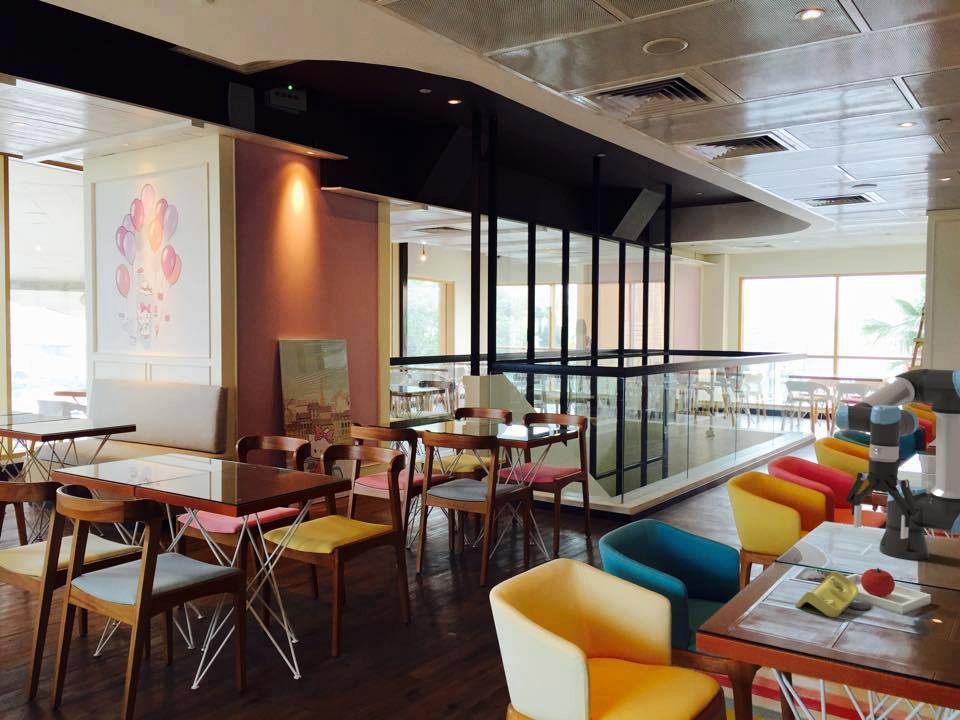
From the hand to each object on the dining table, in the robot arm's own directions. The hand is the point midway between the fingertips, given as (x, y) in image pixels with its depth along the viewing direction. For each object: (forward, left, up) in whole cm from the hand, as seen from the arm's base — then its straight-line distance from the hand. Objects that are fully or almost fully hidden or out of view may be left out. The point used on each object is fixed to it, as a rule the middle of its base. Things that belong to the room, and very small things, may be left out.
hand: (880, 532), depth 228 cm
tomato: (+1, 0, -18) cm, 18 cm away
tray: (+1, 0, -19) cm, 19 cm away
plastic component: (+19, -3, -19) cm, 27 cm away
